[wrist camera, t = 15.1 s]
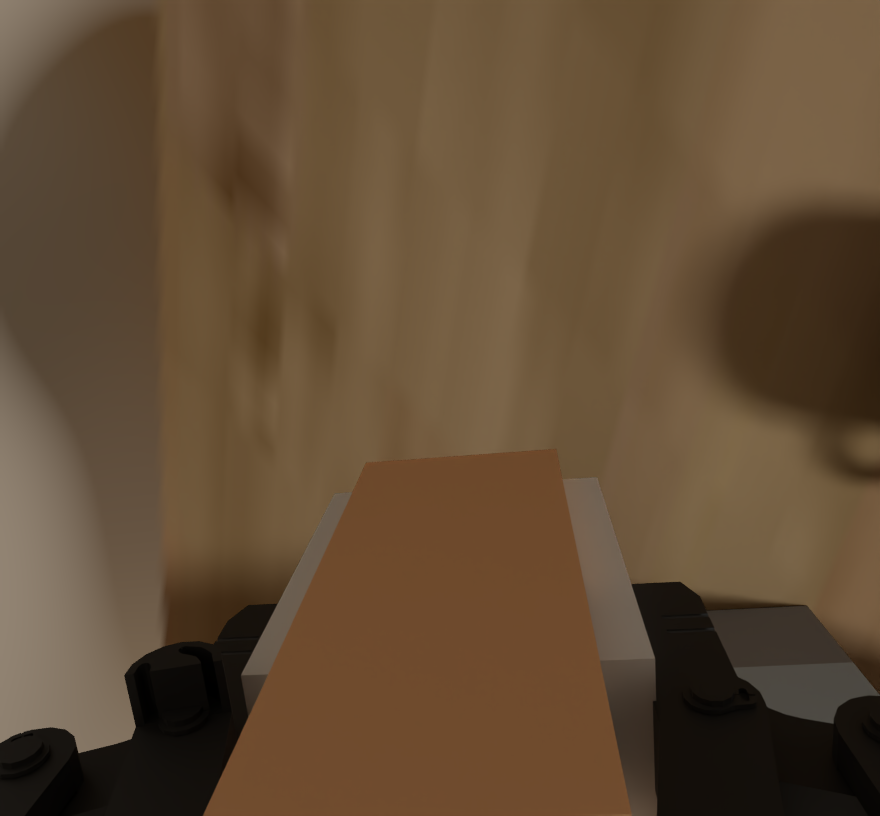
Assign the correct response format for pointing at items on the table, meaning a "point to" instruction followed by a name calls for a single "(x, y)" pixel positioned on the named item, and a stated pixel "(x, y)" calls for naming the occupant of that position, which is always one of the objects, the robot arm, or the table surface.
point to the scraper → (437, 659)
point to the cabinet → (790, 660)
